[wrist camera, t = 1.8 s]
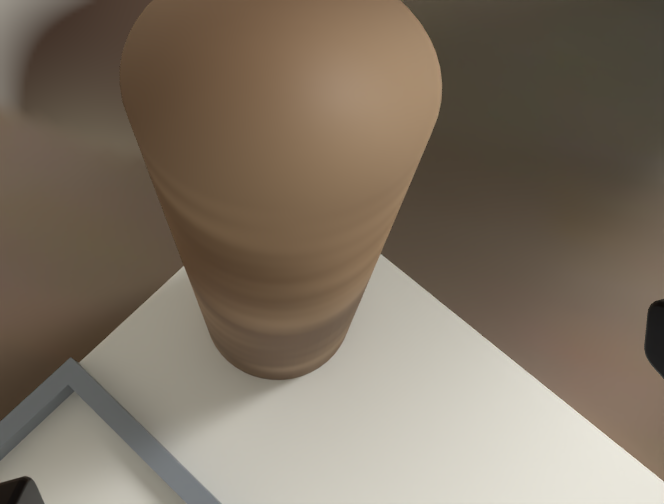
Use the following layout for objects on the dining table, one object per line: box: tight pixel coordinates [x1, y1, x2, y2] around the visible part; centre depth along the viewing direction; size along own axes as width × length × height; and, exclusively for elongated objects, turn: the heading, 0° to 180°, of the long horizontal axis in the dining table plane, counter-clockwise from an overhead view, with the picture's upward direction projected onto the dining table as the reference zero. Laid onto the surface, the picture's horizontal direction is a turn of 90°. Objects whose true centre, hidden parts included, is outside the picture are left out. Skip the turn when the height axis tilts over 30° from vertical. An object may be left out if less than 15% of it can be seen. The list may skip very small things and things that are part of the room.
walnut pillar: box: [120, 0, 442, 380], centre depth 15 cm, size 5×5×12 cm
